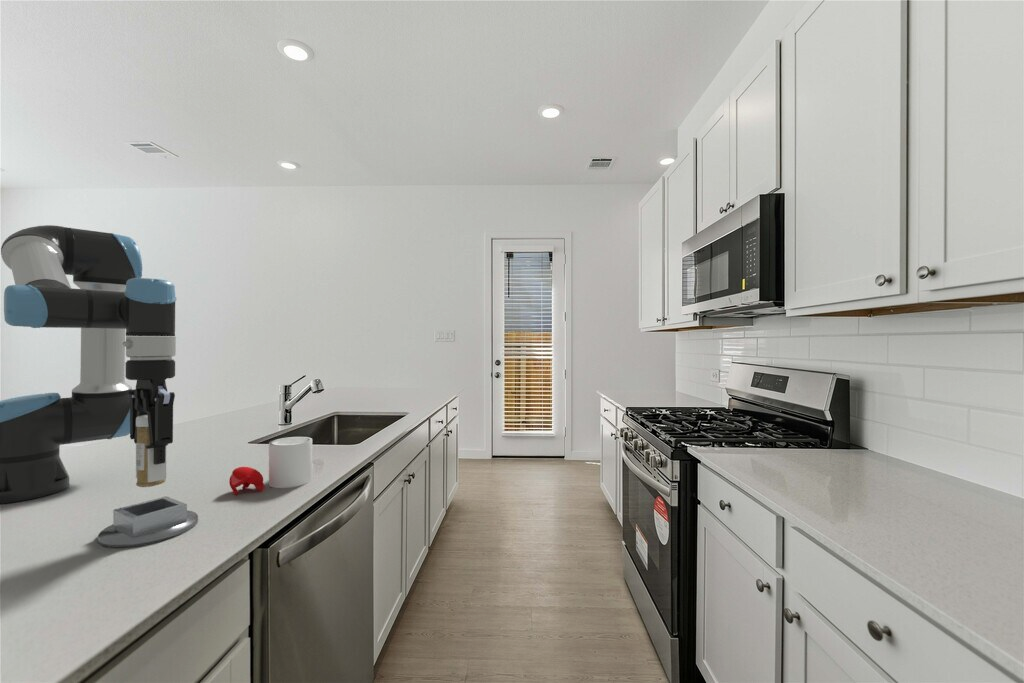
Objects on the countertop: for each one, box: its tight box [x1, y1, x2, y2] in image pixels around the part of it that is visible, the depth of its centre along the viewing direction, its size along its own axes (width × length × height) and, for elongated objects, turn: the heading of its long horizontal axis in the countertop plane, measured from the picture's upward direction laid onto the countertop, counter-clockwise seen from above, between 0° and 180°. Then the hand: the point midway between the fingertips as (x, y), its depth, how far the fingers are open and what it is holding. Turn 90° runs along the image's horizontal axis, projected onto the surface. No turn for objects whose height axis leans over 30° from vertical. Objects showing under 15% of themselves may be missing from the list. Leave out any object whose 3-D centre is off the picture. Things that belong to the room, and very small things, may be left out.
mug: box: [268, 436, 313, 489], centre depth 117 cm, size 14×10×11 cm
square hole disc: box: [97, 495, 199, 549], centre depth 86 cm, size 15×15×4 cm
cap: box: [228, 466, 265, 496], centre depth 108 cm, size 8×6×6 cm
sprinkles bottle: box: [135, 415, 167, 488], centre depth 86 cm, size 5×5×14 cm
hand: (150, 478), depth 86 cm, fingers closed on sprinkles bottle, 4 cm apart
